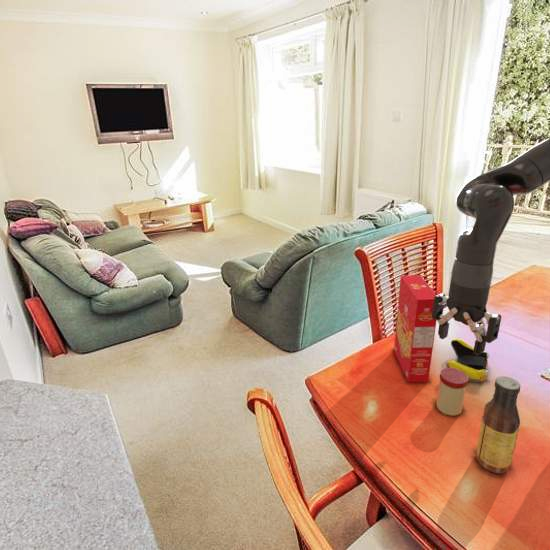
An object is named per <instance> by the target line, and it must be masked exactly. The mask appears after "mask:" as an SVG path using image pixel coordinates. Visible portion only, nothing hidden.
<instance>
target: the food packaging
mask: <svg viewBox="0 0 550 550" xmlns="http://www.w3.org/2000/svg"><path fill="white" fill-rule="evenodd" d="M398 290H399V291H398V303H397V314H396V322H395V323H396V324H395V337H394V347H393V352H394V353H395V356H396V358H397V361H398V363H399V365H400V367H401V369H402V372H403V374H404V376H405V378H406V380H407V383H428V382H429V380H430V379H429V378H430V369H431V363H432V356H433V350H434V342H435V335H436V327H437V322H438V321H437V320H436V319H433V318H432V311H433V304H434V297H435V296H437V295H438V294H436V293H435V292H434V290H433V289H432V287H430V285H429V283H427V282H426V280H425V279H424V278H423V277H422V276H421V274H409V275H407V274H403V275H400V279H399V289H398Z"/></svg>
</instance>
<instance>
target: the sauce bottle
mask: <svg viewBox="0 0 550 550" xmlns="http://www.w3.org/2000/svg"><path fill="white" fill-rule="evenodd" d="M520 393H521V384H520V382H519V381H518V380H517V379H515V378H513V377H509V376H505V375H504V376H503V375H502V376H498V377H496V378H495V381H494V393H493V396H492V399H491V400H490V401H488V402H487V403H486V404H485V405H484V409H483V415H482V416H481V423H480V427H479V434H478V439H477V445H476V453H475V454H476V459H477V462H478V464H479V466H481V467H482V468H484V469H485V470H487V471H488V472H491V473H494V474H504V473H507V471H508V470H509V469H510V467H511V465H512V462H513V458H514V453H515V448H516V445H517V440H518V435H519V431H520V425H521V419H520V415H519V410H518V406H517V405H518V404H517V400H518V395H519V394H520Z"/></svg>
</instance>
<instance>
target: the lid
mask: <svg viewBox="0 0 550 550" xmlns="http://www.w3.org/2000/svg"><path fill="white" fill-rule="evenodd" d="M440 380H441V381H442V383H444V384H445V385H447V386H449V387H451V388H456V389H460V388H464V387H466V388H467V386H468V383H469V380H468V376H467V375H466V373H464V372H463V371H461V370H459V369H456V368H448V367H446V368H443V369H441V370H440V373H439V381H440Z"/></svg>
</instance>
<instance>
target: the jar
mask: <svg viewBox="0 0 550 550" xmlns="http://www.w3.org/2000/svg"><path fill="white" fill-rule="evenodd" d="M466 388H467V386H466V387H464V388H460V389H456V388H451V387H449V386H447V385H445V384H444V383H442V381H441V380H440V379H439V385H438V392H437V399H436V408H437V410H438V411H439V412H441V413H443V414H445V415H447V416H454V417H455V416H458V415H460V414H461V413H462V411H463V404H464V399H465V393H466Z"/></svg>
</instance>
